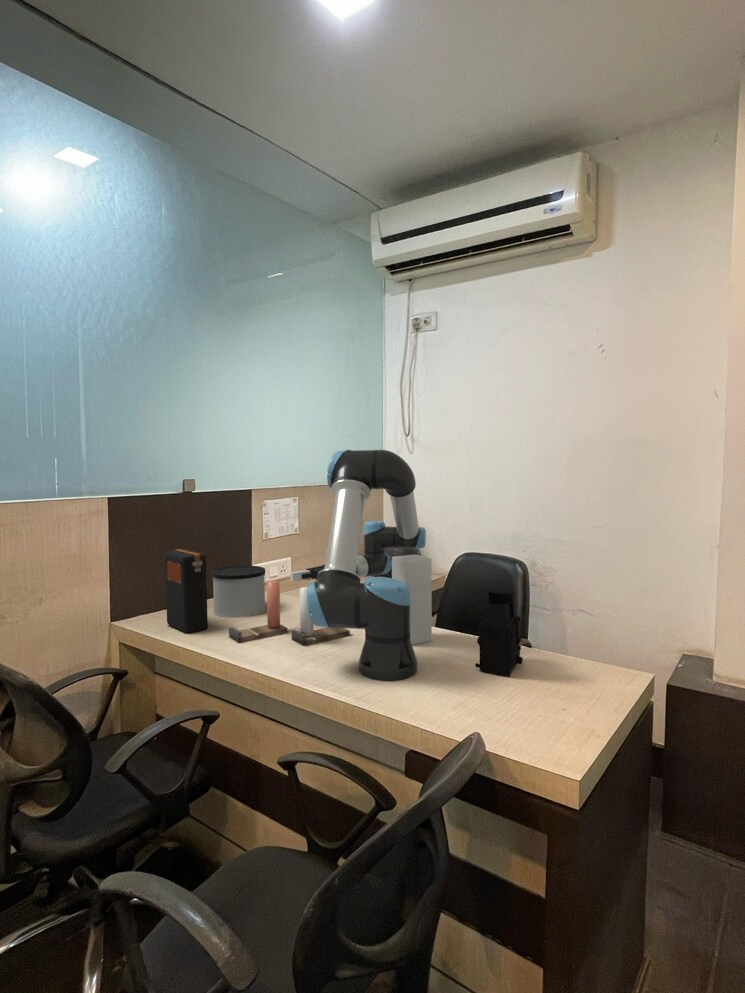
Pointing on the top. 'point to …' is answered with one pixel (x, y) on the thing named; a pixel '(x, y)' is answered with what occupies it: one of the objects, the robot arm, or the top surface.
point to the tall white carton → (416, 593)
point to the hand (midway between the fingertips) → (291, 577)
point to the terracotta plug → (273, 603)
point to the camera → (499, 635)
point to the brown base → (255, 633)
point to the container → (238, 591)
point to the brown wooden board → (319, 635)
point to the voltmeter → (186, 590)
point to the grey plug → (305, 614)
